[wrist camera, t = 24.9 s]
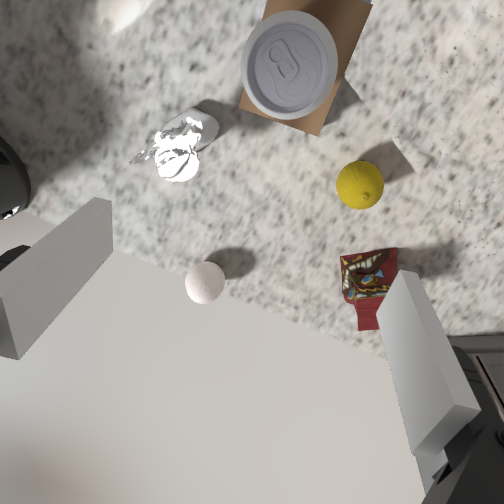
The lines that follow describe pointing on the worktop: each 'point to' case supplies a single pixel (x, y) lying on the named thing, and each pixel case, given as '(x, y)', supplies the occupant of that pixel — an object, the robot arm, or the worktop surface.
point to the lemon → (360, 185)
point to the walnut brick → (345, 38)
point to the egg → (205, 282)
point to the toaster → (494, 378)
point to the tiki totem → (368, 283)
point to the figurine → (180, 144)
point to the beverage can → (289, 64)
